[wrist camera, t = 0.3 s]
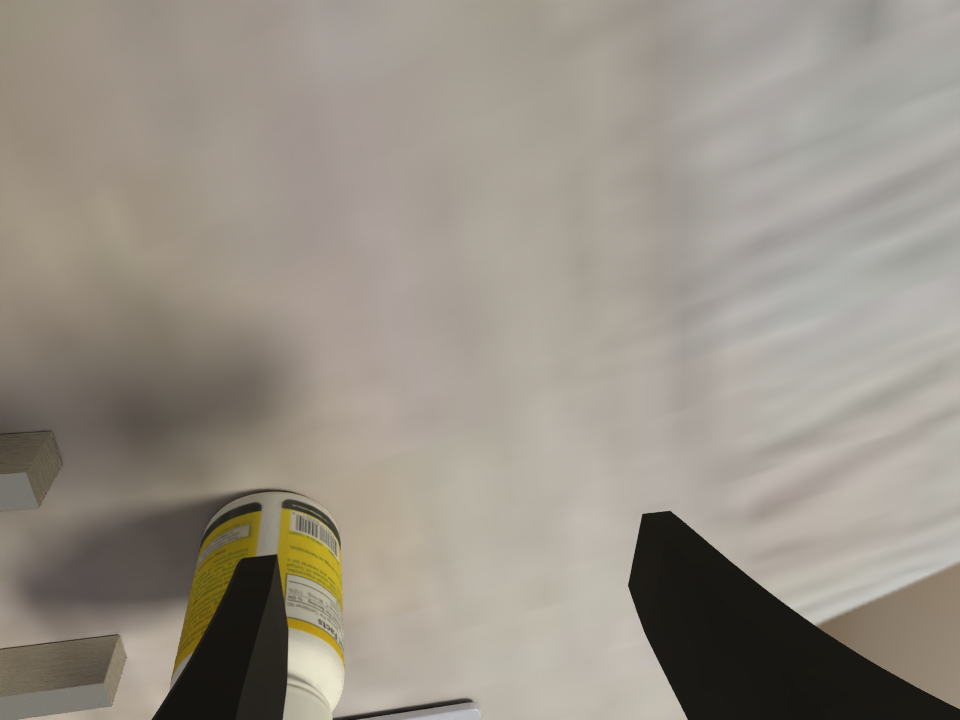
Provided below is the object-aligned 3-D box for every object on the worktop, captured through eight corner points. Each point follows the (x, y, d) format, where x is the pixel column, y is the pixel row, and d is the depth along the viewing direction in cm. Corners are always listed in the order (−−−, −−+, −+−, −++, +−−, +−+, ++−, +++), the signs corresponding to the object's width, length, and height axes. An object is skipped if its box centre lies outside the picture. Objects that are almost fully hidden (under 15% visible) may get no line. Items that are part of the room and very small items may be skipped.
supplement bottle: (204, 586, 25) (151, 835, 18) (201, 485, 23) (141, 723, 15) (336, 583, 26) (338, 815, 19) (346, 487, 24) (353, 709, 17)
